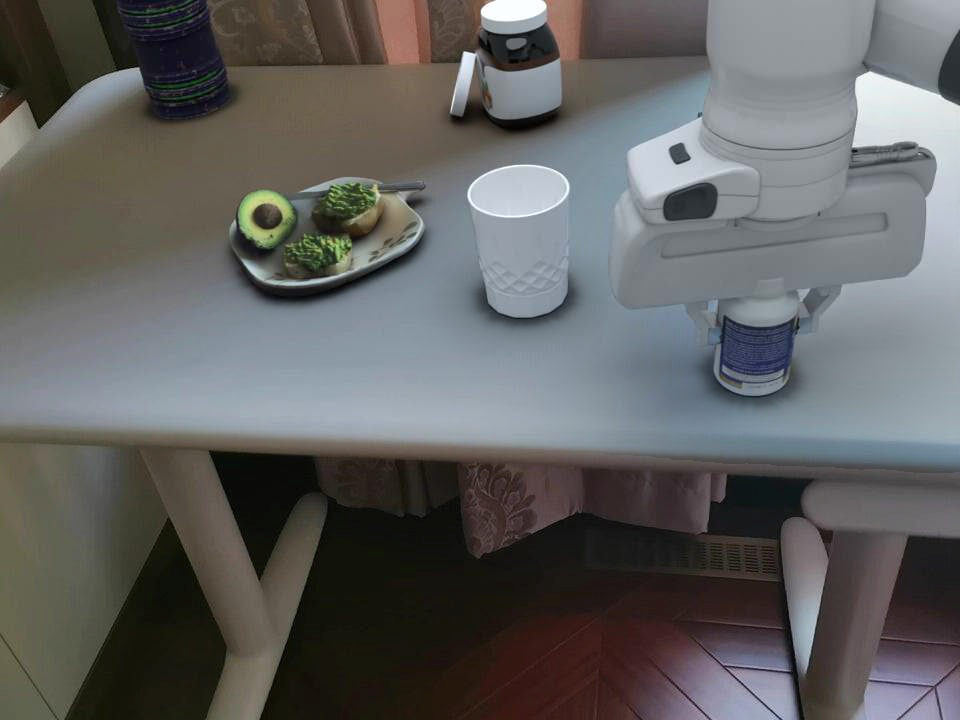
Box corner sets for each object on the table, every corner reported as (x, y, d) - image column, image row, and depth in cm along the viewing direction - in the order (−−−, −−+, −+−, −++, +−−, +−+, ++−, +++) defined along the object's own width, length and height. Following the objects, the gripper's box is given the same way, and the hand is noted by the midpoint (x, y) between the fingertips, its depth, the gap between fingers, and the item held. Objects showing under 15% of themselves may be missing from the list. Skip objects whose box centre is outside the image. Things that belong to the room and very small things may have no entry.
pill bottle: (802, 389, 68) (820, 277, 62) (730, 405, 67) (741, 294, 61) (769, 343, 72) (782, 234, 66) (701, 358, 72) (708, 249, 65)
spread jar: (573, 121, 103) (569, 14, 95) (476, 149, 100) (464, 41, 93) (526, 82, 112) (519, -19, 104) (436, 107, 109) (422, 4, 102)
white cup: (525, 257, 84) (516, 154, 78) (593, 289, 80) (590, 183, 73) (460, 299, 80) (446, 195, 74) (528, 336, 76) (519, 228, 69)
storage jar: (234, 110, 114) (190, -47, 102) (151, 126, 113) (96, -30, 101) (231, 78, 121) (190, -71, 110) (153, 92, 120) (103, -57, 109)
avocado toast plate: (394, 166, 99) (387, 125, 96) (473, 243, 87) (468, 198, 84) (214, 227, 93) (201, 185, 90) (272, 319, 81) (258, 274, 78)
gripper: (920, 115, 61) (883, 290, 70) (601, 154, 61) (604, 324, 70) (966, 162, 56) (920, 344, 65) (619, 205, 56) (620, 381, 65)
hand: (754, 334), depth 67 cm, fingers closed on pill bottle, 5 cm apart
